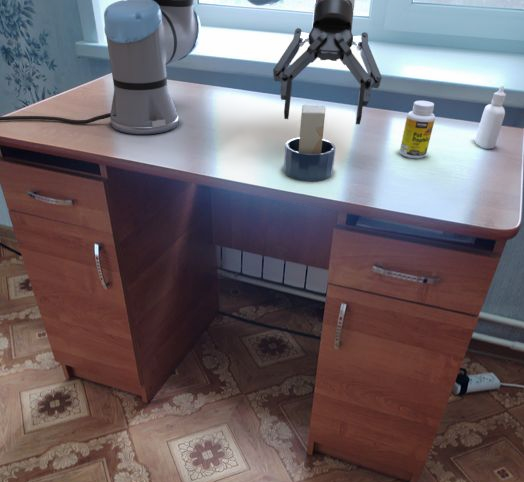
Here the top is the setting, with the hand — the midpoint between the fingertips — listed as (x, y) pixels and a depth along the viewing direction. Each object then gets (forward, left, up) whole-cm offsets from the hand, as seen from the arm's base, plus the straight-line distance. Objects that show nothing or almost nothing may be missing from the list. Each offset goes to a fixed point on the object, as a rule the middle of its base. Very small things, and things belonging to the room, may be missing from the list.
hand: (322, 118), depth 95 cm
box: (-1, -3, -9) cm, 10 cm away
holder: (-1, -3, -9) cm, 10 cm away
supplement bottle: (+18, +14, -9) cm, 25 cm away
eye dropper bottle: (+33, +26, -9) cm, 43 cm away
